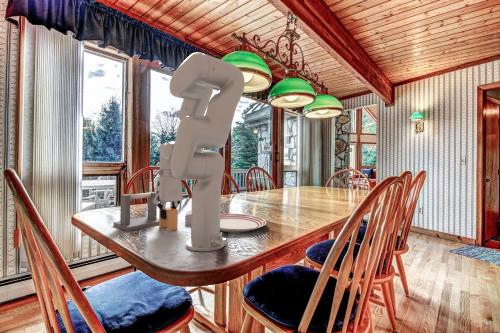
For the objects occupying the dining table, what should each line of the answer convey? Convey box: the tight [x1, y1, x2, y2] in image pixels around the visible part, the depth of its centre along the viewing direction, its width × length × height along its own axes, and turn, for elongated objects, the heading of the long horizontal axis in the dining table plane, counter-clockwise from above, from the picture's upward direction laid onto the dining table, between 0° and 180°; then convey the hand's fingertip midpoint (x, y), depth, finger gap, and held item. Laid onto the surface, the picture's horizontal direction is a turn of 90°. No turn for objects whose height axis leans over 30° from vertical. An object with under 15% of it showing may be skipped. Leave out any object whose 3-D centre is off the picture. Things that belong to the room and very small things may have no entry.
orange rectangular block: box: [158, 207, 179, 232], centre depth 103 cm, size 7×4×8 cm, turn 52°
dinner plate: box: [220, 213, 267, 233], centre depth 109 cm, size 28×27×3 cm
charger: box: [184, 210, 192, 226], centre depth 118 cm, size 5×9×15 cm
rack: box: [113, 191, 159, 232], centre depth 108 cm, size 12×16×14 cm
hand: (168, 217), depth 103 cm, fingers closed on orange rectangular block, 4 cm apart
